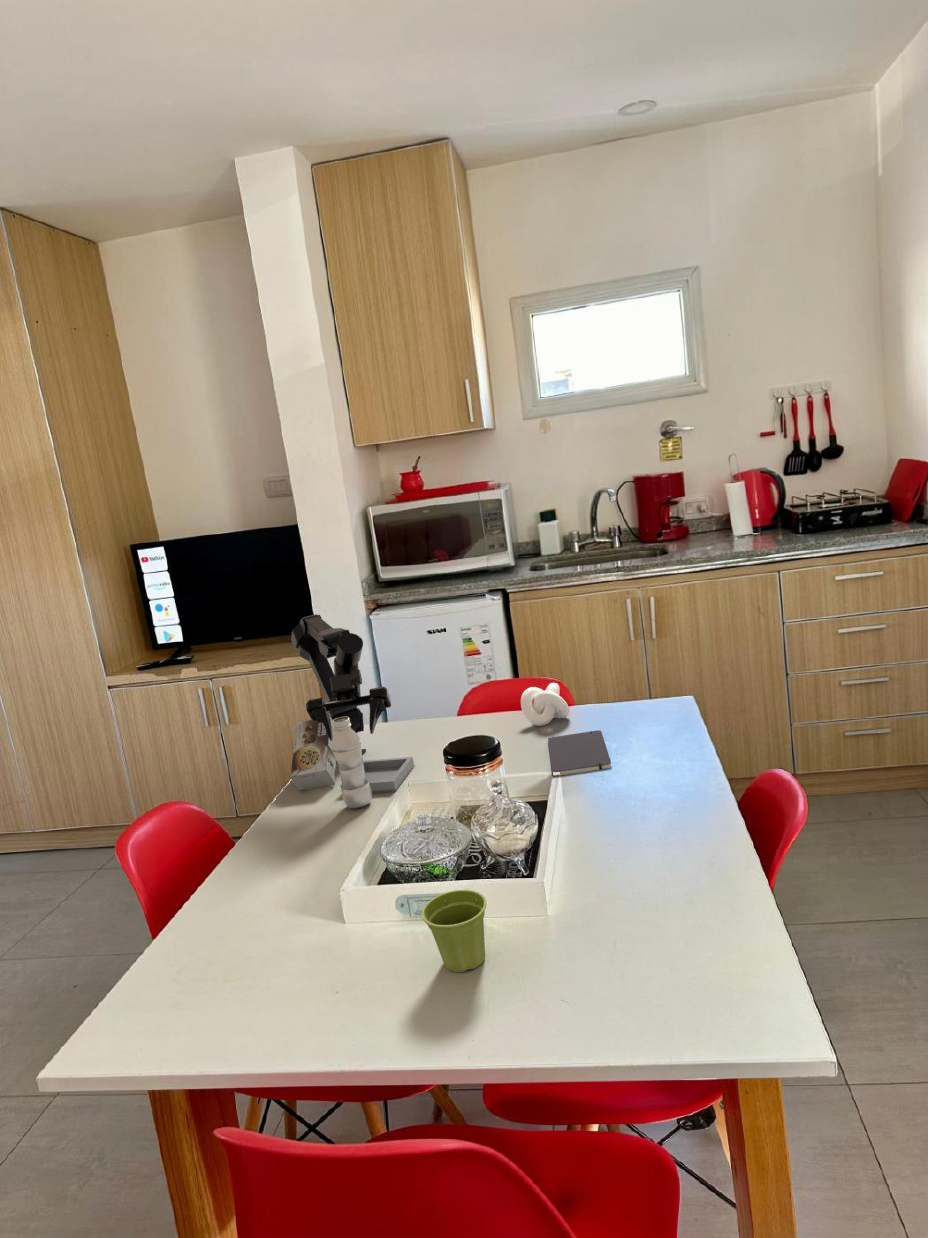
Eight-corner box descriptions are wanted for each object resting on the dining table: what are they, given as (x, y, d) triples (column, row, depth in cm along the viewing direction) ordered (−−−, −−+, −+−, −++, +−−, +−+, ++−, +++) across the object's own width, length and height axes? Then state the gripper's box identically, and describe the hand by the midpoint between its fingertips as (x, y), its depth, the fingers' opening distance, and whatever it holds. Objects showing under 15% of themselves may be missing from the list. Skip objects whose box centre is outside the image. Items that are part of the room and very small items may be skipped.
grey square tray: (364, 770, 208) (362, 760, 208) (414, 766, 205) (412, 756, 204) (342, 795, 195) (340, 785, 195) (396, 791, 192) (393, 781, 191)
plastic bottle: (379, 798, 190) (361, 713, 186) (366, 812, 184) (347, 724, 180) (353, 799, 192) (334, 714, 188) (339, 812, 186) (320, 726, 182)
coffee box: (335, 785, 202) (339, 730, 213) (326, 770, 197) (331, 715, 209) (298, 792, 203) (304, 736, 214) (289, 777, 198) (295, 721, 210)
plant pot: (475, 986, 118) (464, 930, 117) (420, 973, 124) (409, 920, 122) (508, 947, 126) (498, 894, 124) (454, 937, 131) (444, 885, 129)
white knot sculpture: (582, 714, 220) (577, 681, 218) (554, 731, 211) (548, 697, 210) (547, 710, 228) (542, 678, 226) (519, 726, 219) (513, 693, 218)
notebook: (548, 743, 205) (553, 778, 184) (547, 737, 205) (552, 772, 184) (601, 735, 204) (612, 770, 183) (600, 729, 204) (611, 763, 183)
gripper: (298, 667, 195) (300, 728, 186) (379, 652, 194) (385, 713, 186) (311, 690, 204) (314, 749, 195) (388, 676, 204) (394, 735, 195)
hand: (351, 736), depth 193 cm, fingers open, 9 cm apart
